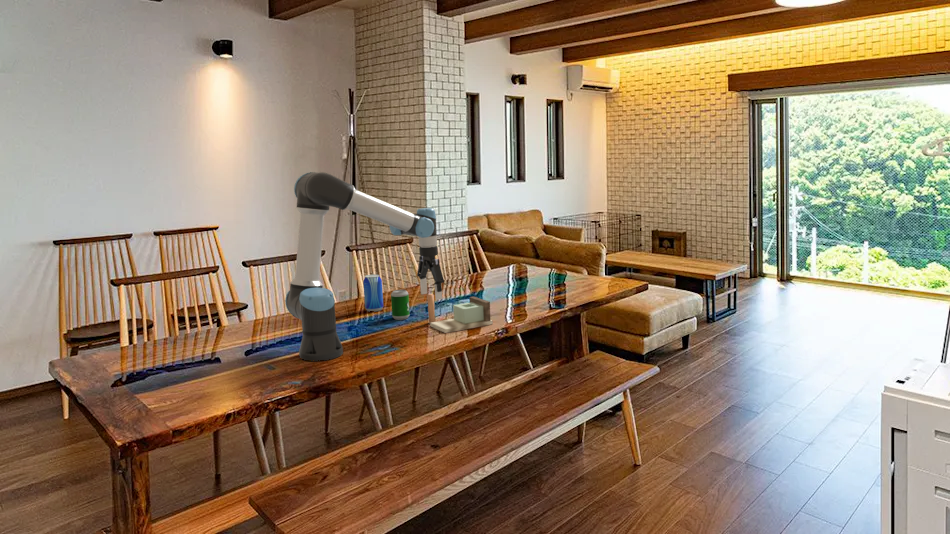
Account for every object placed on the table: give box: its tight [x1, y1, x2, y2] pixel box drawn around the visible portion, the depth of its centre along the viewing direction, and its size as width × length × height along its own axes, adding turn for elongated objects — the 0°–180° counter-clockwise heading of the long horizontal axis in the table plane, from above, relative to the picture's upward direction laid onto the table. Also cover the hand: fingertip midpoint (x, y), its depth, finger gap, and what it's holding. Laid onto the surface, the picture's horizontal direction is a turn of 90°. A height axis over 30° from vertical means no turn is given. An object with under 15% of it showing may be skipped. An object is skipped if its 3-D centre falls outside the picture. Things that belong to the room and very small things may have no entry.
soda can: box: [390, 289, 411, 321], centre depth 276 cm, size 8×8×12 cm
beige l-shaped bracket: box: [429, 296, 494, 334], centre depth 260 cm, size 22×13×10 cm, turn 120°
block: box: [452, 301, 484, 324], centre depth 262 cm, size 9×9×6 cm
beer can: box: [362, 274, 384, 312], centre depth 293 cm, size 8×8×16 cm
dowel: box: [427, 293, 436, 325], centre depth 265 cm, size 3×3×12 cm
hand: (431, 296), depth 265 cm, fingers open, 13 cm apart
